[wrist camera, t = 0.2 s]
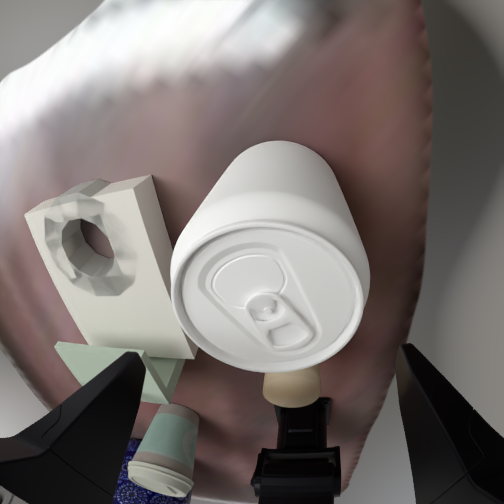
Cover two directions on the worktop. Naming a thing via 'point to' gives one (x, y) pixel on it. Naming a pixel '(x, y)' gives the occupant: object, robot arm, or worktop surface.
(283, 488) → the robot arm
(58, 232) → the socket
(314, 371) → the peg
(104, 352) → the mint green folder
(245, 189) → the beverage can
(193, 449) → the coffee cup
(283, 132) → the worktop surface
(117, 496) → the planter
